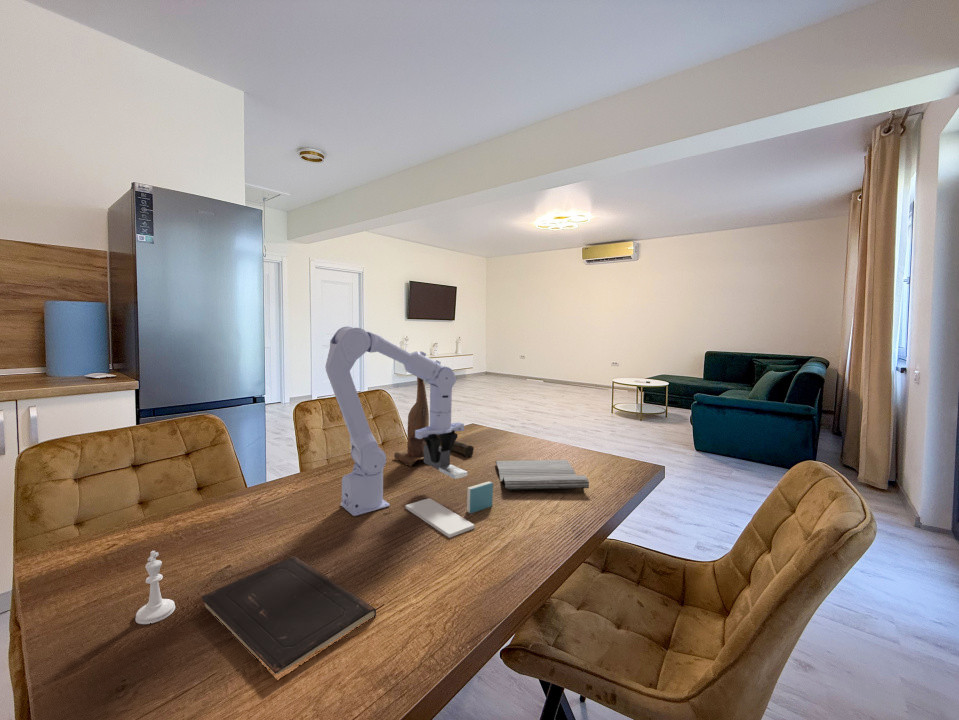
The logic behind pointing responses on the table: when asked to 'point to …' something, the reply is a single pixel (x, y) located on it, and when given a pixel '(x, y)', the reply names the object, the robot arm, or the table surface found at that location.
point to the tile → (479, 497)
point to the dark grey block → (444, 463)
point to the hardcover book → (287, 612)
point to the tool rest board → (440, 517)
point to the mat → (540, 475)
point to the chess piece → (154, 596)
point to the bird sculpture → (416, 427)
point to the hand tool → (460, 448)
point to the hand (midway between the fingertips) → (439, 460)
